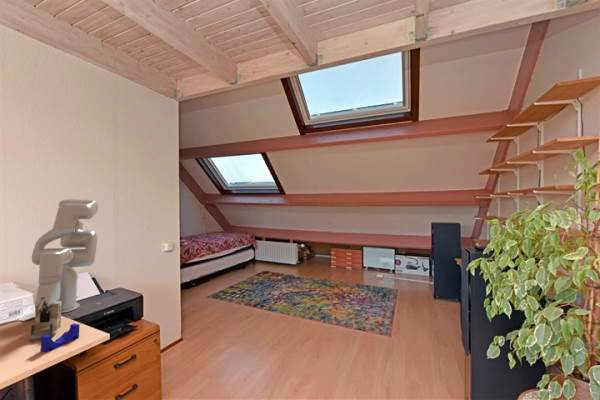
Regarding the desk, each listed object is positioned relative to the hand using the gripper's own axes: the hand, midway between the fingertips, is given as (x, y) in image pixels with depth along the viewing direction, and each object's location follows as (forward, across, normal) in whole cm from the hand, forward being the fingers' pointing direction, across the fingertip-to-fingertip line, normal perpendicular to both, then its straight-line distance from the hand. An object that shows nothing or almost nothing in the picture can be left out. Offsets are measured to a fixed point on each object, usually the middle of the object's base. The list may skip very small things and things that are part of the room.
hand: (48, 318), depth 120 cm
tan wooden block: (+5, 0, 0) cm, 5 cm away
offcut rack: (+5, +8, +2) cm, 10 cm away
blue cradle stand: (+5, +15, +10) cm, 19 cm away
